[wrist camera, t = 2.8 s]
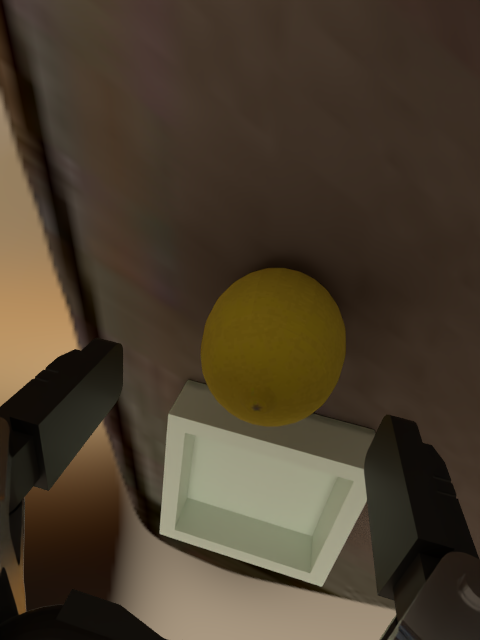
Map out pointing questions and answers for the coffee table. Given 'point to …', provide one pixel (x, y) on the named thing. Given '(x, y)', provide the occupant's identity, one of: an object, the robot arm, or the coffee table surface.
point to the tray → (262, 485)
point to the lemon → (273, 347)
